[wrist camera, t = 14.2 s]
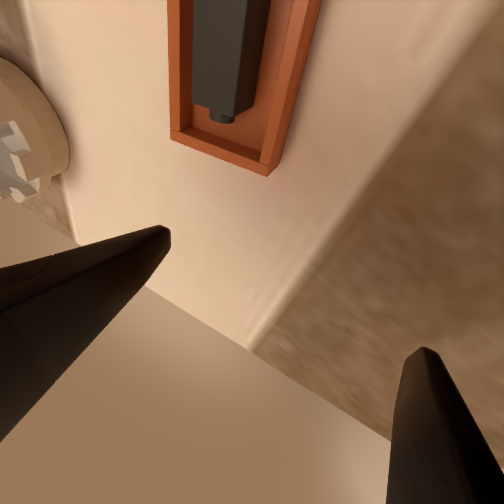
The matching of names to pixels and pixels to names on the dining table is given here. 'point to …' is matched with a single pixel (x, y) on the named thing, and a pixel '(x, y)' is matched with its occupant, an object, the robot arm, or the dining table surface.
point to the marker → (227, 55)
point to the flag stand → (27, 137)
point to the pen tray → (266, 96)
